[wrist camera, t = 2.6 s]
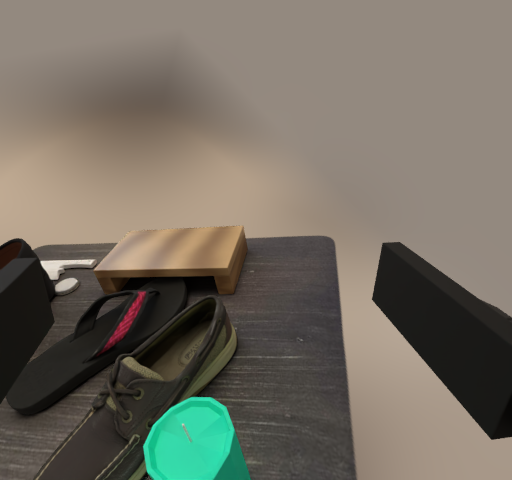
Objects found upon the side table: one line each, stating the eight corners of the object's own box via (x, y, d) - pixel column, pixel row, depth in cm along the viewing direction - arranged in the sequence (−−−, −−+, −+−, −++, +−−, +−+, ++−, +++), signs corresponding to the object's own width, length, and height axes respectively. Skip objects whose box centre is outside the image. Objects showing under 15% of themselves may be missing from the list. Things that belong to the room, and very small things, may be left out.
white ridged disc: (49, 294, 56) (48, 291, 56) (66, 279, 59) (64, 276, 59) (68, 295, 55) (67, 292, 55) (84, 280, 58) (82, 277, 58)
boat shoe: (14, 512, 29) (-43, 468, 25) (195, 319, 46) (180, 273, 42) (74, 585, 24) (16, 545, 20) (250, 339, 41) (239, 291, 37)
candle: (183, 561, 24) (126, 490, 18) (186, 472, 30) (143, 392, 23) (262, 541, 25) (233, 465, 18) (251, 457, 30) (226, 374, 24)
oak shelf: (247, 249, 59) (243, 225, 57) (233, 294, 49) (227, 267, 47) (138, 252, 64) (129, 231, 61) (105, 294, 54) (92, 270, 51)
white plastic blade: (81, 280, 59) (78, 275, 58) (13, 280, 62) (9, 276, 61) (97, 262, 63) (94, 258, 62) (32, 264, 66) (29, 259, 65)
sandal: (207, 299, 49) (198, 269, 46) (29, 438, 34) (-1, 407, 31) (170, 278, 55) (161, 251, 52) (5, 390, 40) (-22, 360, 37)
